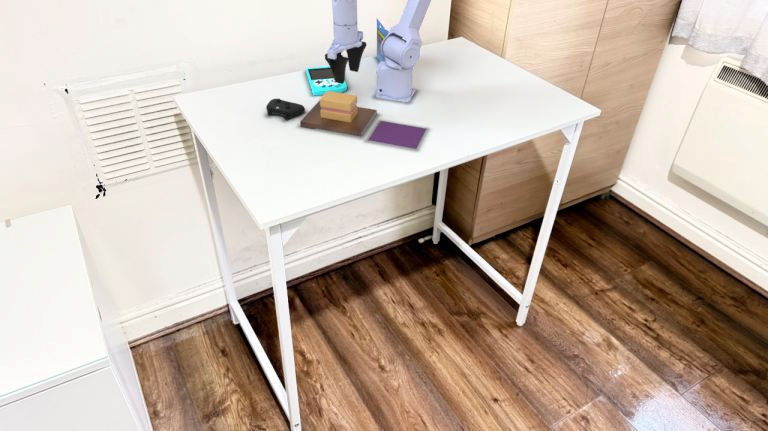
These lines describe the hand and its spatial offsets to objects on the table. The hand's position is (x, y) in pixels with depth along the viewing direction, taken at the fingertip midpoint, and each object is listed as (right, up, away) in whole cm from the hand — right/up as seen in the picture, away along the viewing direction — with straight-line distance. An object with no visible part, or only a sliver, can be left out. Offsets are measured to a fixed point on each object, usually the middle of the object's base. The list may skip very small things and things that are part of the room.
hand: (346, 76), depth 131 cm
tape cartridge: (+10, +12, +30) cm, 34 cm away
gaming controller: (-17, -9, +4) cm, 19 cm away
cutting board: (-2, -11, +1) cm, 11 cm away
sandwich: (-2, -10, +1) cm, 10 cm away
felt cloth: (+13, -15, -4) cm, 20 cm away
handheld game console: (-7, +3, +19) cm, 21 cm away
